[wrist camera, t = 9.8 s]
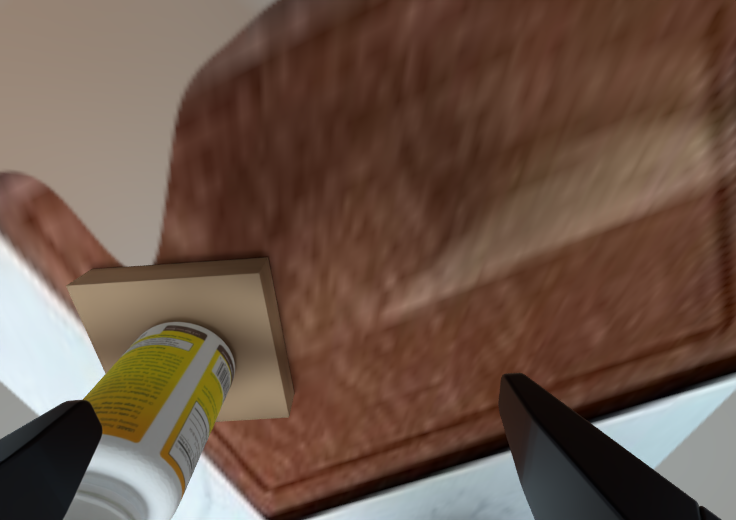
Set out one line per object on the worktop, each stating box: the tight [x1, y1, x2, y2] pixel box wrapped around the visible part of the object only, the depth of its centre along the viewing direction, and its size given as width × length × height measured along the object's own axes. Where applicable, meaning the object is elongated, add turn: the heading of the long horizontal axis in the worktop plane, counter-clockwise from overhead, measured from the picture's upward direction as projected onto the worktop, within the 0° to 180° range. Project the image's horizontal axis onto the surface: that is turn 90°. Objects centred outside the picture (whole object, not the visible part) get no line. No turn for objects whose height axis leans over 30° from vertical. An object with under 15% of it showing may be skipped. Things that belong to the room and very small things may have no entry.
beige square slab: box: [66, 257, 294, 422], centre depth 22 cm, size 10×10×2 cm
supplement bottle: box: [63, 322, 235, 520], centre depth 17 cm, size 6×6×10 cm
